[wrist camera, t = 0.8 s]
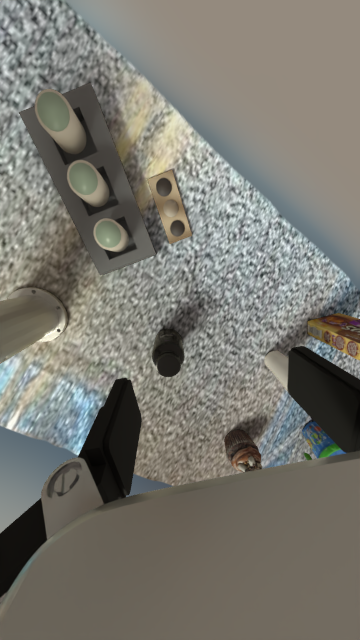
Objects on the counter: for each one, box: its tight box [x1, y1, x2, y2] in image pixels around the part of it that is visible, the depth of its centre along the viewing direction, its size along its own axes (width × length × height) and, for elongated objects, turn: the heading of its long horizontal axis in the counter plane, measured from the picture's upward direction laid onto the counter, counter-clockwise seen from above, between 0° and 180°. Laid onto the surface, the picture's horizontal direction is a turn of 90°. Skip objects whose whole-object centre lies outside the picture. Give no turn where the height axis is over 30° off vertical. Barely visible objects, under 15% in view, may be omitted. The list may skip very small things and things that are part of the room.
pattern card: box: [147, 170, 192, 244], centre depth 35 cm, size 12×5×1 cm, turn 20°
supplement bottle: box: [152, 329, 184, 377], centre depth 39 cm, size 7×7×12 cm
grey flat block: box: [19, 83, 156, 275], centre depth 33 cm, size 26×12×4 cm, turn 20°
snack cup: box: [302, 421, 345, 460], centre depth 54 cm, size 16×10×10 cm
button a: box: [94, 218, 129, 252], centre depth 31 cm, size 5×5×5 cm
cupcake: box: [224, 430, 262, 473], centre depth 52 cm, size 10×10×10 cm
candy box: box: [307, 313, 360, 360], centre depth 40 cm, size 9×4×15 cm, turn 104°
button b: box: [67, 160, 109, 207], centre depth 28 cm, size 5×5×5 cm
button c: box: [35, 89, 86, 154], centre depth 26 cm, size 5×5×5 cm
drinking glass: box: [264, 351, 289, 391], centre depth 42 cm, size 7×7×15 cm
